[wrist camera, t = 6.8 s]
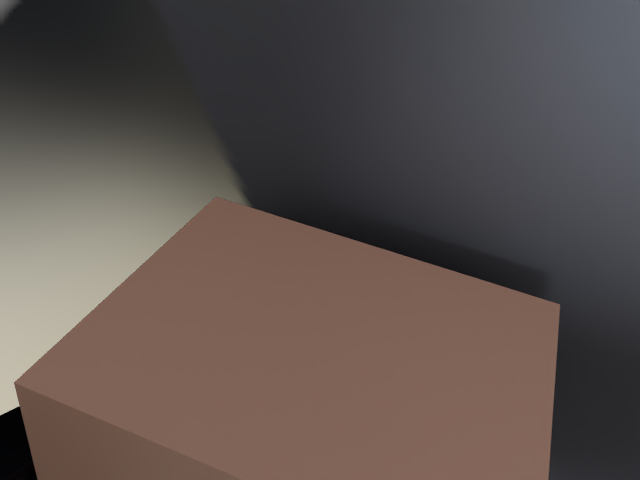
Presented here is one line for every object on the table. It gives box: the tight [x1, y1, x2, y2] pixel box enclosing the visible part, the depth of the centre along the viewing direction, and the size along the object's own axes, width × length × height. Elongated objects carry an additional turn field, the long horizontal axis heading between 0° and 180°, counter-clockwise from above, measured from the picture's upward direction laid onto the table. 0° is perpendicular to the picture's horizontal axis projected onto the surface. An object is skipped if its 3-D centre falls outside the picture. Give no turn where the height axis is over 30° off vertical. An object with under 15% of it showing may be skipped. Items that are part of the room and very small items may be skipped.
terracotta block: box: [14, 197, 560, 480], centre depth 8 cm, size 5×5×4 cm
